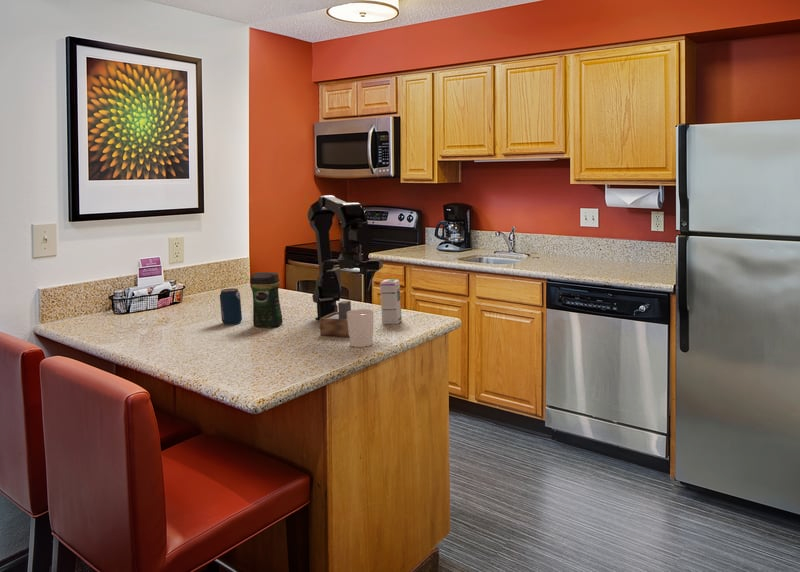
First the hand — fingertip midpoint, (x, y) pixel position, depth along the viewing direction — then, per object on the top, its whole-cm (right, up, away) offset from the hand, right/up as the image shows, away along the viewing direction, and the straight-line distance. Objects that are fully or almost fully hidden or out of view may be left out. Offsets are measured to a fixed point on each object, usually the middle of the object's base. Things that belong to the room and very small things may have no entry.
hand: (353, 291), depth 197 cm
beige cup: (+3, -16, -14) cm, 22 cm away
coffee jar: (-31, -12, +15) cm, 36 cm away
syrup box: (+12, -11, +14) cm, 21 cm away
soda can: (-45, -12, +20) cm, 50 cm away
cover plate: (-3, -10, 0) cm, 10 cm away
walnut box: (-3, -13, 0) cm, 14 cm away
